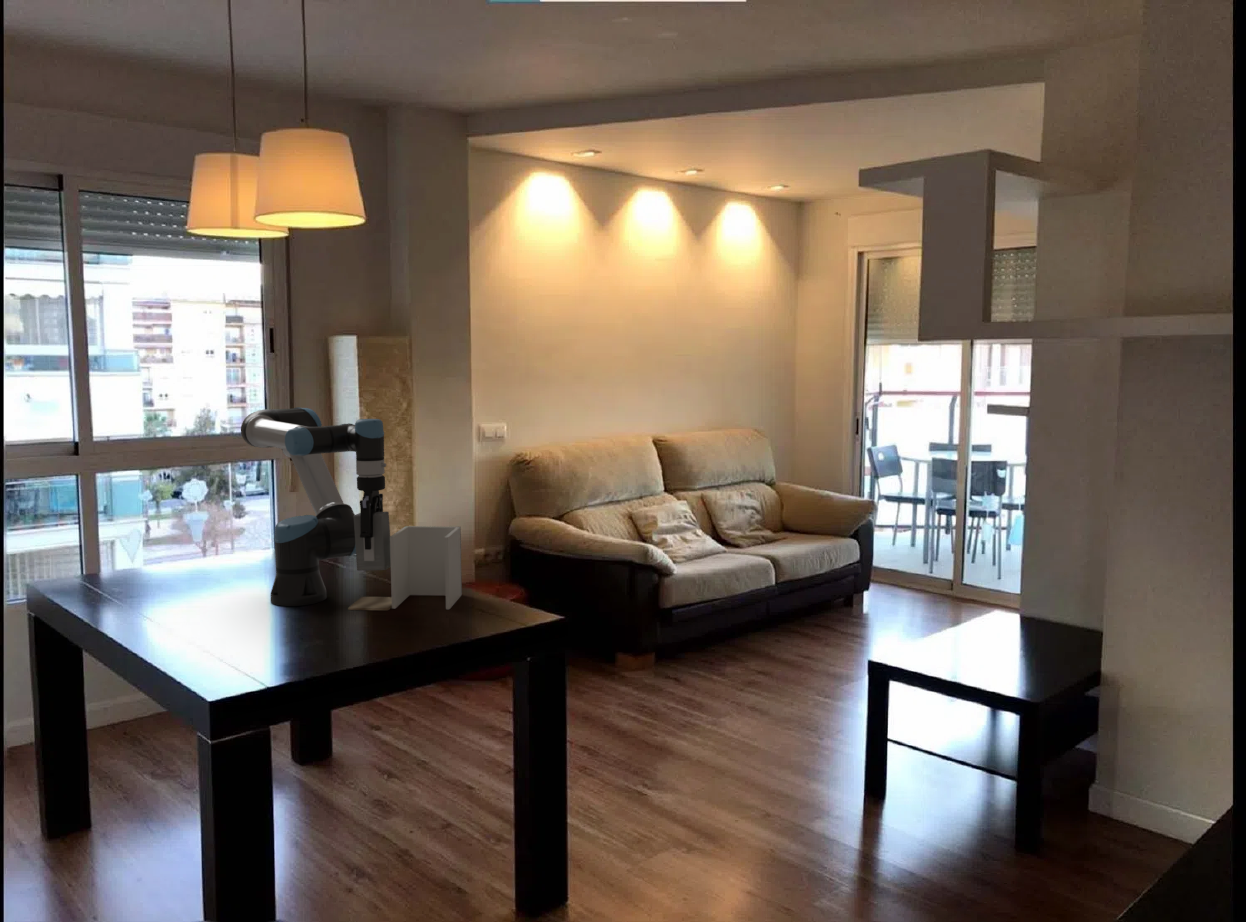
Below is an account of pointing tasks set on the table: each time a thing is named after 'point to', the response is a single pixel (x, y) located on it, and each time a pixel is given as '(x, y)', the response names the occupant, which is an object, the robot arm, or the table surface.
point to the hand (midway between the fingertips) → (373, 557)
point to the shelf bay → (426, 563)
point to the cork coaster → (372, 603)
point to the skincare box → (380, 543)
